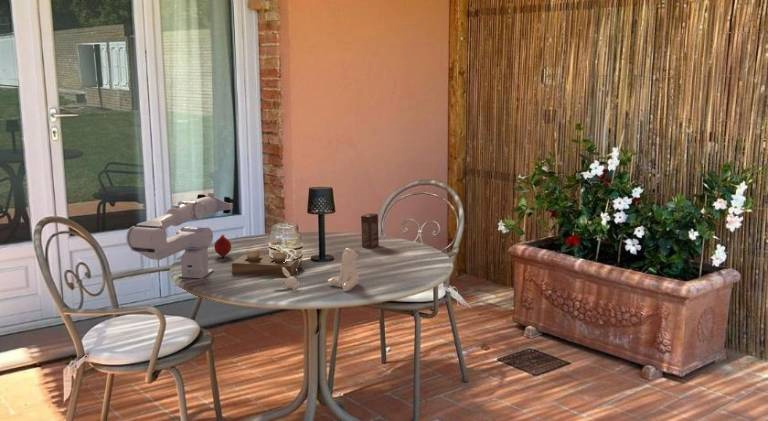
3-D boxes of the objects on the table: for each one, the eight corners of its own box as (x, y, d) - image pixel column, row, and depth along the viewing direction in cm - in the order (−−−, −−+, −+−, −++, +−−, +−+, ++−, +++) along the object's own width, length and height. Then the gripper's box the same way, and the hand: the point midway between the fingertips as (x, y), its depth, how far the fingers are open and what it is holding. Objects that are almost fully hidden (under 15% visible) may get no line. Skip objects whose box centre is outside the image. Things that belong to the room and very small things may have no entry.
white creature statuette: (325, 285, 242) (325, 248, 240) (346, 279, 248) (346, 243, 246) (346, 291, 236) (345, 253, 233) (366, 286, 242) (366, 248, 239)
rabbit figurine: (290, 291, 236) (270, 277, 238) (290, 298, 239) (270, 284, 241) (303, 278, 239) (282, 264, 241) (303, 284, 242) (283, 270, 244)
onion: (229, 259, 273) (228, 236, 272) (213, 258, 273) (212, 236, 272) (233, 254, 279) (232, 233, 278) (217, 254, 279) (216, 232, 278)
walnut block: (290, 276, 252) (290, 266, 251) (232, 273, 256) (231, 262, 255) (300, 267, 262) (300, 257, 262) (244, 264, 266) (243, 254, 265)
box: (368, 243, 295) (368, 212, 293) (379, 245, 293) (378, 213, 291) (360, 247, 290) (360, 215, 288) (371, 248, 288) (371, 216, 286)
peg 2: (283, 263, 255) (283, 253, 255) (271, 262, 256) (271, 253, 255) (287, 260, 259) (286, 250, 258) (275, 259, 260) (275, 250, 259)
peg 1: (257, 261, 257) (256, 252, 256) (245, 261, 258) (245, 251, 257) (261, 258, 261) (261, 249, 260) (249, 258, 261) (249, 249, 261)
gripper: (224, 196, 254) (242, 191, 267) (184, 192, 258) (204, 188, 271) (223, 217, 255) (242, 212, 268) (184, 213, 259) (204, 208, 272)
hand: (223, 201), depth 270 cm, fingers open, 7 cm apart
